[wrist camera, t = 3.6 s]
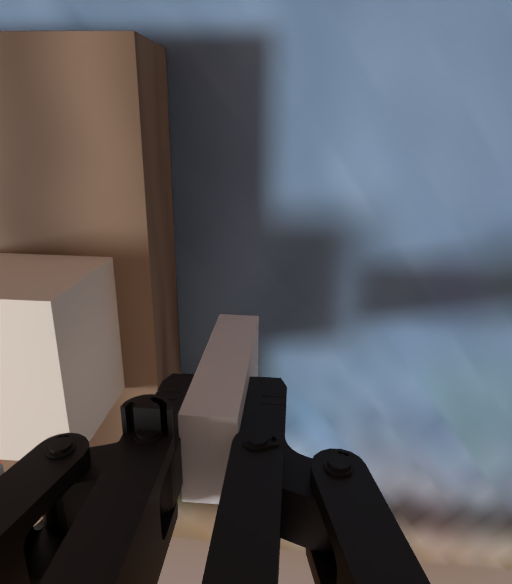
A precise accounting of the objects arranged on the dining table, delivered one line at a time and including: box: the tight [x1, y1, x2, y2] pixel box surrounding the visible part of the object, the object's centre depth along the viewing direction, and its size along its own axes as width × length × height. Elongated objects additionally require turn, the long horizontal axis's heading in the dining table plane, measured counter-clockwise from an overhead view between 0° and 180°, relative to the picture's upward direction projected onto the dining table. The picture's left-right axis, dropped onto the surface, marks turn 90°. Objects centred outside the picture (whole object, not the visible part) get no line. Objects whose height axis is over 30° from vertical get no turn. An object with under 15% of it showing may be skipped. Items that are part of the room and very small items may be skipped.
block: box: [0, 253, 125, 461], centre depth 18 cm, size 6×6×5 cm
